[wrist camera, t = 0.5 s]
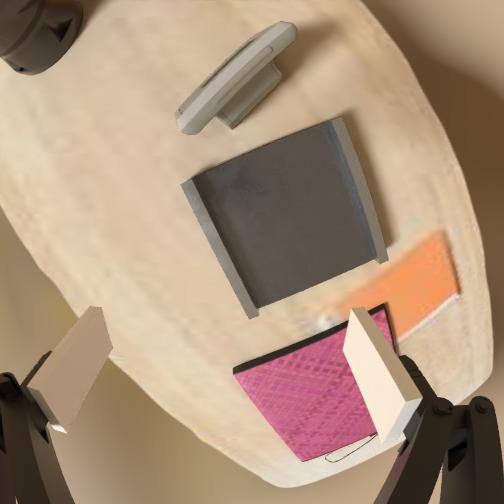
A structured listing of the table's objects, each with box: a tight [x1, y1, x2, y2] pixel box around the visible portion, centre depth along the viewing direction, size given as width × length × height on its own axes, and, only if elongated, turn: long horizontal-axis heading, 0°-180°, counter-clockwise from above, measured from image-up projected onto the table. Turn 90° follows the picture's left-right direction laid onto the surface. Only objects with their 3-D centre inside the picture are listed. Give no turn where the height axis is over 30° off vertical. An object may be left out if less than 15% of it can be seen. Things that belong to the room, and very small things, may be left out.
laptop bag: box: [233, 304, 396, 462], centre depth 49 cm, size 40×4×27 cm
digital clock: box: [175, 21, 297, 135], centre depth 27 cm, size 16×9×11 cm, turn 126°
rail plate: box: [181, 117, 389, 319], centre depth 36 cm, size 20×21×3 cm
